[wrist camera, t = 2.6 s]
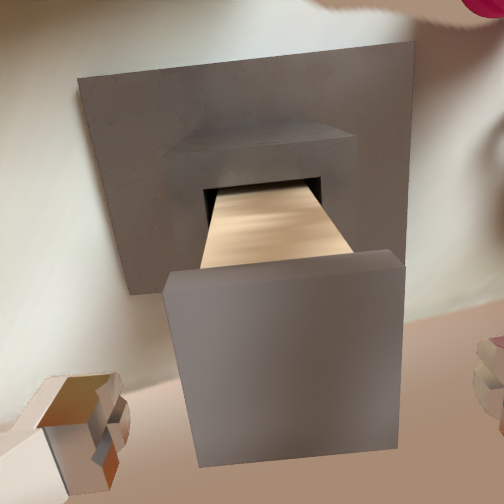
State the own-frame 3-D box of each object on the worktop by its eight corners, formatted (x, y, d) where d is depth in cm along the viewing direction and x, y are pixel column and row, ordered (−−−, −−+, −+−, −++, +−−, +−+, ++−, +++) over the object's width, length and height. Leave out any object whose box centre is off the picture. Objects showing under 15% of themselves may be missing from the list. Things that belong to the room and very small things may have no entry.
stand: (134, 286, 33) (70, 404, 21) (85, 79, 27) (-46, 69, 15) (397, 259, 33) (493, 361, 21) (405, 43, 27) (547, 1, 15)
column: (226, 219, 30) (199, 467, 10) (217, 151, 28) (162, 292, 8) (294, 212, 29) (397, 448, 10) (289, 143, 28) (405, 266, 8)
